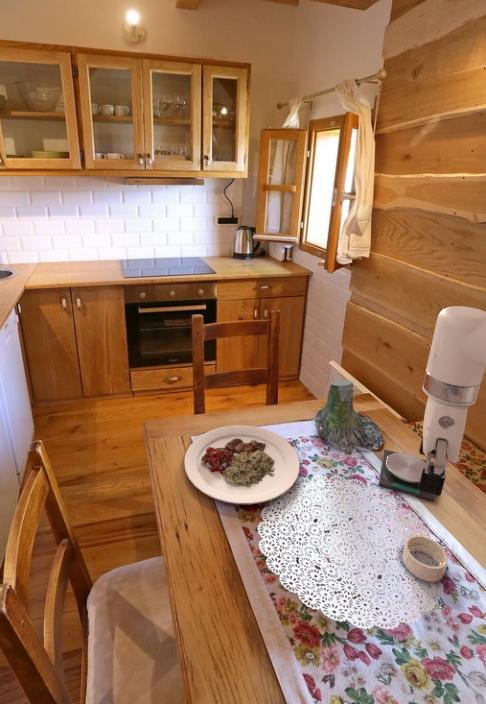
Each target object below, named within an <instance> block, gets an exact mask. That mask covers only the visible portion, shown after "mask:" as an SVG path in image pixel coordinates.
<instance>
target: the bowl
mask: <svg viewBox="0 0 486 704" xmlns="http://www.w3.org/2000/svg"><path fill="white" fill-rule="evenodd" d="M404 542H405V543H404V547H403V552H402V561H403V564H404V566H405V568H406V569H407V570H408V571H409V572H410V573H411V574H412V575H414V576H415V577H417V578H418V579H420V580H422V581H426V582H433V583H434V582H438V581H440V580H442V579H443V577H444V576H445V574H446V569H447V565H448V562H449V561H448V554H447V552H446V550H445V548H444V547H443V546H442V545H441V544H440V543H439V542H438V541H436V540H434V539H432V537H428V536H426V535H422V534H414V535H411V536H409V537H408V538H407V539H406V540H405V541H404ZM413 552H420V553H424V554H426V555H428V556H429V557H431V558H432V559H433V560H434V561H435V563H436V564H437V566H433V565H432V566H430V565H427V564H425V563H422V562H421V561H420V560H417V559H416V558H415V557H414V556H413V555H412V554H411V553H413Z"/></svg>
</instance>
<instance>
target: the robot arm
mask: <svg viewBox="0 0 486 704" xmlns="http://www.w3.org/2000/svg"><path fill="white" fill-rule="evenodd" d="M485 370H486V311H485V310H482V309H479V308H475V307H470V306H461V305H455V306H453V305H452V306H448V307H445V308H443V309H442V310H441V311H440V312H439V313H438V316H437V318H436V323H435V328H434V332H433V337H432V342H431V346H430V351H429V355H428V360H427V364H426V369H425V373H424V378H423V384H422V386H421V388H422V391H423V393H424V394H425V395H426V396H427V401H426V406H425V409H424V414H423V415H424V418H423V422H422V423H423V425H422V437H421V441H420V445H419V450H418V451H419V452H418V453H419V454H420V455H422V456H425V457H426V459H425V460H426V466H425V469H424V468H423V471H422V475H421V479H420V483H419V490H421V491H424V492H427V493H431V494H434V496H438V497H440V496H442V492H443V490H444V489H443V488H444V485H445V481H446V477H447V476H446V475H447V474H446V473H447V466H448V463H452V464H456V463H458V462H459V461H458V460H459V457H460V453H461V447H462V442H463V438H464V433H465V429H466V424H467V423H466V422H467V417H468V409H469V406H473V405H475V403H476V402H477V399H478V395H479V391H480V388H481V384H482V380H483V377H484V373H485ZM432 459H434V465H431V466H430V464H431V462H432Z"/></svg>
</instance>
